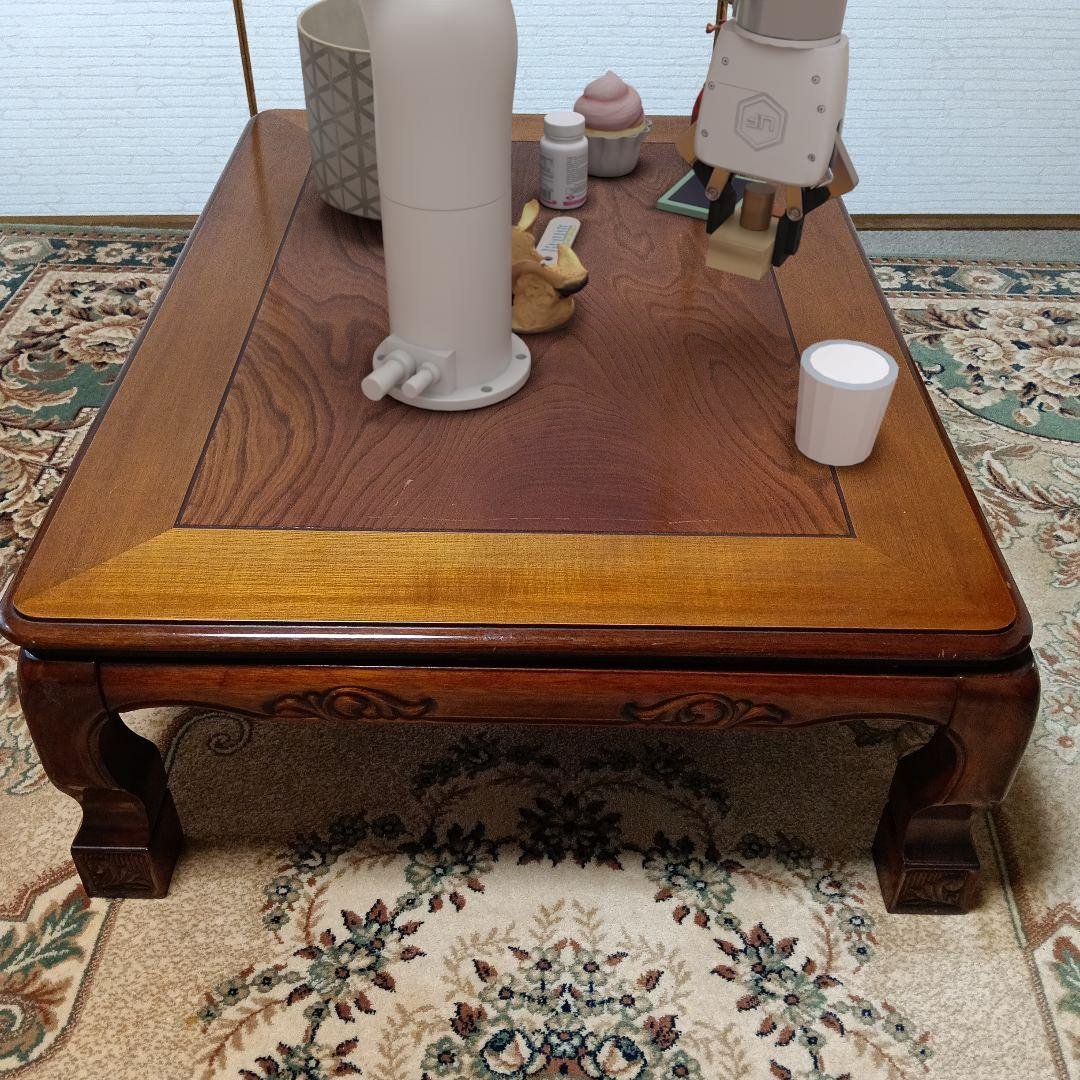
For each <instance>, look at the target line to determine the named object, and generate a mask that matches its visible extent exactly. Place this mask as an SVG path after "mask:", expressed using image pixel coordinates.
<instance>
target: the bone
mask: <svg viewBox="0 0 1080 1080" xmlns="http://www.w3.org/2000/svg"><path fill="white" fill-rule="evenodd" d="M539 214H540V204H539V202H538V200H537V199H535V198H533V199H532V200H530V201H529V202H526V203H525V204H524V206H523V210H522V212H521V217H520V220H519V221H518V223H517V226H515V225H511V290H512V295H514V296H513V300H512V301H513V305H512V333H519V334H524V335H525V334H526V335H527V334H528V335H529V334H533V335H534V334H544V333H550V332H555V331H559V330H563V329H564V328H566V327H568V326H570V324H571V325H572V322H573V321H574V319H576V318H575V316H576V309H575V308H576V305H575V300H574V298H573V296H572V295H575V294H578V293H579V292H581V291H583V290H584V288H586V287H587V286H588V283H589V280H590V278H589V277H590V276H589V275H590V272H589V271H588V270H587V269H586V268H585V266H583V265H582V263H581V261H580V258H579V256H578V255H577V253H576V252H575V251H574V250H573V248H572V247H571V248H570V247H569V246H568V245H566V244H560V243H558V246H557V248H558V259H557V264H555V265H554V264H553V263H551V264H550V265H549V266H547V265H545V263H543V264H541V261H542V260H543V259H544V257H543V256H542V255H541V254H539V253H538V251H536V246H535V241H536V239H535V236H534V234H533V233H534V232H533V231H534V227H535V224H536V222H537V220H538V218H539Z"/></svg>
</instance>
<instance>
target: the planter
mask: <svg viewBox="0 0 1080 1080" xmlns="http://www.w3.org/2000/svg"><path fill="white" fill-rule="evenodd" d="M296 30H297V39H298V49H299V57H300V65H301V66H300V67H301V76H302V86H303V94H304V95H303V96H304V102H305V112H306V121H307V130H308V139H309V149H310V155H311V156H310V158H311V167H312V168H311V169H312V176H313V185H314V190H315V191H316V193H317V195H318V196H319V198H321V199H322V200H323V201H324V203H326V204H328V205H330V206H331V207H333V208H335V209H336V210H339V211H342V212H344V213H347V214H350V215H354V216H357V217H361V218H365V219H370V220H373V221H374V222H375V221H376V222H379V223H382V216H381V203H380V190H379V184H378V170H377V158H376V140H375V120H374V95H373V76H372V64H371V55H370V48H369V41H368V35H367V31H366V28H365V25H364V22H363V17H362V14H361V13H360V12H359V10H358V9H357V8H356V6H355V5H354V4H353V3H352V2H351V0H319V1H317V2H314V3H312V4H310V5H309V6H307V7H306V8H304V9H303V10H302V11H301V12H300V13H299V14H298V16H297V19H296Z"/></svg>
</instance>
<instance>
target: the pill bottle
mask: <svg viewBox="0 0 1080 1080" xmlns="http://www.w3.org/2000/svg"><path fill="white" fill-rule="evenodd" d="M543 133H544V134H543V135H542V136H541V138H540V141H539V171H538V172H539V175H538V176H539V180H538V181H539V186H538V188H539V189H538V190H539V191H538V194H539V201H540V203H541V204H542V205H544V206H545V207H547V208H550V209H556V210H572V209H576V208H578V207H581V206H583V205H584V204H585V202H586V201H587V195H588V193H587V192H588V190H587V189H588V174H587V168H588V140H587V138H586V137H585V136H584V133H585V118H584V116H583V115H581V114H579V113H576V112H573V110H572V111H571V110H557V111H556V110H555V111H552V112H549V113H547V114H546V115H544V117H543Z"/></svg>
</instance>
